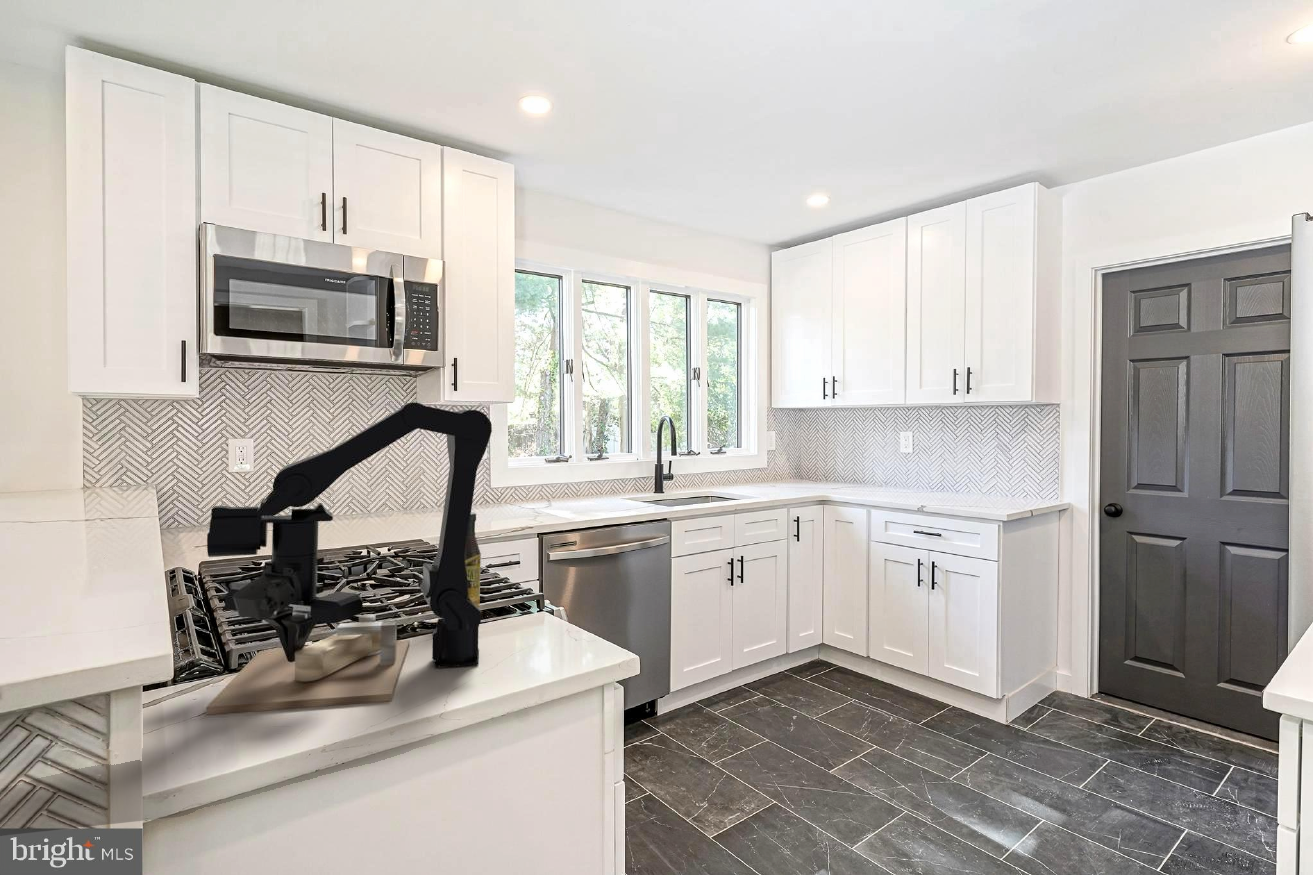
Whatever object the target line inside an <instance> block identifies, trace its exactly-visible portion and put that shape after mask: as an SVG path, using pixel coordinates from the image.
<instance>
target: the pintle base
mask: <svg viewBox="0 0 1313 875" xmlns="http://www.w3.org/2000/svg"><path fill="white" fill-rule="evenodd" d="M375 621H376V614H373V613H370V614H369V613H368V614H362V615H359V617H358V622H345V623H339V624H338V626H337V628H336V634H337V636H343V635H362V634H381V644H380V650H379V651H376V652H372V653H370V654H368V655H366V656H364V657H362V658H360V659H358V660H356V661H354V662H352V663H350V664H348V665H346V666H344V667H342V668H340V669H338V670H337V671H335V672H333V673H331V674H329V675H327V676H325V677H323V678H321V679H318V680H314V681H297V680H295V661H294V662H288V660H287V658H286V655H285V652H284V650H283V648H274V649H268V650H264V651H260V650H259V651H258V652H257V653H256V654H255V655H254V656H253V657H252V658H251V660H249V661H248V663H247V664H246V665H245V666H244V667H243V668H242V669H241V670H240V671H239V672H238V673H237V674H236V675H235V676H234V678H232V679H231V681H230V682H228V683H227V685H226V686H225V687H224V688H223V689H221V691H220V692H219V693H218V694H217V695H216V696H215V697H214V698H213V699H212V700H211V702H210V703H208V705H206V708H205V709H206V710H205V711H206V712H205V713H206V716H209V715H221V714H233V713H234V714H235V713H245V712H246V713H247V712H260V711H261V712H262V711H272V710H273V711H274V710H288V709H301V708H303V709H304V708H314V707H315V708H316V707H326V706H327V707H329V706H341V705H354V704H355V705H357V704H368V703H381V702H382V703H383V702H391V701H392V700H393V697H394V693H395V691H396V688H397V685H398V682H399V678H400V677H401V672H402V670H403V667H404V664H405V660H406V658H407V655H408V651H409V649H410V645H411V644H410V639H404V640H402V639H401V640H397V630H398V626H397V625H398V624H397V620H387V621H377V622H375ZM309 645H310V644H309ZM309 645H308V644H307V645H304V647H307V646H309ZM304 647H303V648H304Z"/></svg>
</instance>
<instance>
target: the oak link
mask: <svg viewBox="0 0 1313 875" xmlns="http://www.w3.org/2000/svg"><path fill="white" fill-rule="evenodd" d="M375 622H378V621H377V620H375ZM380 644H381V634H362V635H343V636H337V633H334V634H333V635H330V636H328V637H326V638H323V639H321V640H318V641H316V642H313V643H312V644H309V646H308V645H306V646H307V647H304V648H302V649H300V650H298V651H296V652H295V680H297V681H314V680H318V679H321V678H323V677H325V676H327V675H329V674H331V673H333V672H335V671H337V670H338V669H340V668H342V667H344V666H346V665H348V664H350V663H352V662H354V661H356V660H358V659H360V658H362V657H364V656H366V655H368V654H370V653H372V652H376V651H379V650H380Z"/></svg>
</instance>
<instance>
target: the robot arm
mask: <svg viewBox="0 0 1313 875" xmlns="http://www.w3.org/2000/svg"><path fill="white" fill-rule="evenodd" d="M417 429H419V430H423V431H428V432H433V433H437V434H441V435H442V434H443V435H446V446H447V448H446V449H447V453H448V461H449V468H448V469H449V470H448V476H447V483H446V490H445V491H446V492H445V498H444V505H443V506H444V507H443V512H442V519H441V520H442V521H441V526H440V527H441V528H440V536H439V539H438V540H439V541H438V547H437V553H436V556H435V558H434V560H433V562H432V564H431V563H428V562H427V563H426V562H424V563H423V564H422V570H423V572H422V573H423V577H422V581H421V583H420V585H419V590H420V591H421V593H422V594H423V598H424V600H425V602H426V603H427V605H428V607H429V608H430V610H431V612H433V614H434V615H435V616H437V617H439V618H438V619H437V622H436V628H435V629H433V632H432V644H431V646H432V648H431V649H432V650H431V651H432V652H431V655H432V656H431V657H432V658H431V659H432V661H434V668H451V667H466V666H467V667H468V666H477V665H479V663H480V662H479V660H480V659H479V658H480V649H479V627H480V624H481V622H482V619H483V616H484V614H483V612H482V611H481V610H480V609H479V607H477V606H476V605H475V604H474V603H473V601H472V600H471V599H470V598H469V597H468V578H467V571H466V564H465V552H466V545H467V537H468V530H469V523H470V516H471V512H472V506H473V500H474V493H475V488H476V487H475V486H476V480H477V472H478V468H479V466H480V464H481V461H483V460H482V459H483V457H484V456H485V454H486V451H487V447H488V444H489V441H490V439H491V436H492V432H493V428H492V422H491V420H490V418H488V415H487V414H485V413H484V412H482V411H481V410H476V409H461V410H458V411H452V410H451V411H450V410H447V409H442V408H437V407H432V406H427V405H424V404H422V403H420V402H418V401H417V402H416V401H415V402H412V401H411V402H406V403H405V404H403V405H402V406H400V408H398V409H397V410H396V411H394V412H392V413H391V414H388V415H387V416H385V417H383V418H382V419H380V420H379V421H377V422H374V423H373V424H371V425H370V426H367V428H365V429H363V430H361V431H359V432H358V433H356V434H354V435H352V436H351V437H349V438H347V439H346V440H344V441H342V442H341V443H338V445H336V446H333V447H332V448H329V449H327V450H325V451H322V452H319V453H315V454H313V455H310V456H308V457H305V458H302V459H300V460H298V461H295V462H292V463H290V464H287V465H284V467H281V469H279V471H278V472H277V474H276V476H275V478H274V480H273V483H272V491H271V492H270V493H269V494H268V495H267V496H266V497H265V498H262V499H261V502H260V503H259V504H260V505H259V506H257V505H256V506H229V505H214V506H213V507H212V508H211V514H210V515H211V516H210V521H209V530H208V531H209V532H207V534H206V549H207V550H206V551H207V557H208V558H217V557H218V558H219V557H233V556H234V557H235V556H237V557H238V556H240V557H241V556H258V550H259V551H260V550H261V549H262V548H266V547H267V545H268V524H272V536H271V537H272V538H271V539H272V541H271V560H269V561H268V560H267V561H264V565H263V566H262V574H261V576H260V577H257V578H255V579H253V580H251V581H250V582H249V583H246V584H242V585H238V586H235V587H232V588H230V589H229V590H228V592H226V594H225V596H224V610H227V611H233V612H237V613H238V616H239V618H243V619H244V618H251V619H253V618H254V619H255V620H258V621H259V620H260V621H265V622H267V623H268V624H269V625H271V626H272V627H273V628H274V631H275V633H276V634H277V636H278V639H279V641H280V644H281V647H283V650H284V652H285V655H286V658H287V660H288V662H294V661H295V652H296V651H298V650H300V649H302V648H303V647H304V646H306V643H307V642H308V639H309V637H310V635H311V634H312V631H313V630H314V628H315V627H316V625H317V624H318V623H324V624H331V625H332V624H338V623H339V624H340V622H343V621H345V620H349V619H350V618H353V617H355V616H357V615H360V614H362V613H363V609H364V608H363V604H364V603H363V601H364V600H363V598H362V597H361V596H360V594H358V593H355V592H347V591H346V592H345V591H335V592H332V593H330V594H329V593H328V594H327V595H323V596H321V597H319V596H317V595H318V594H321V593H324V585H323V584H318V567H319V566H321V565H324V564H325V557H324V556H318V553H319V552H318V550H319V522H332V521H333V519H334V515H333V513H332V512H331V511H329V510H328V509H326V507H325V506H324V504H323V503H322V502H319V503H318V504H317V505H316V506H315V507H313V508H302V507H304V506H307V505H309V504H311V503H312V502H314V500H316V499H317V498H318V497H319V496H320V495H322V493H323V492H325V491H327V489H328V488H329V487H331V486H332V485H333V484H334V483H335V482H336V481H337V480H338V479H339V478H340V477H341V476H342V475H343V474H345V473H346V472H347V471H349V470H351V469H352V468H354V467H356V465H358V464H360V463H362V462H364V461H366V460H367V459H369V458H370V457H372V456H373V455H375V454H377V453H378V452H380V451H382V450H383V449H385V448H388V447H389V446H390V445H391V444H393V443H395V442H396V441H398V440H400V439H402V438H403V437H405V436H406V435H408V434H410V433H412V432H413V431H415V430H417ZM290 507H291V508H292V509H291V514H286V515H284V514H283V515H278V514H280V513H281V512H283V511H285V510H286V509H288V508H290Z"/></svg>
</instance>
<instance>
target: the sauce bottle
mask: <svg viewBox="0 0 1313 875" xmlns="http://www.w3.org/2000/svg"><path fill="white" fill-rule="evenodd" d="M476 521H477V513H476V512H472V511H471V516H470V523H469V530H468V537H467V545H466V552H465V564H466V571H467V578H468V597H469V598H470V599H471V600H472V601H473V603H474V604H475V605H476V606H477V607H478V608H480V597H481V596H480V594H481V590H480V588H481V564H482V563H481V562H482V556H481V555H482V552H481V551H480V550H481V549H480V547H479V543H478V540H477V537H476V530H475V529H476Z"/></svg>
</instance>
